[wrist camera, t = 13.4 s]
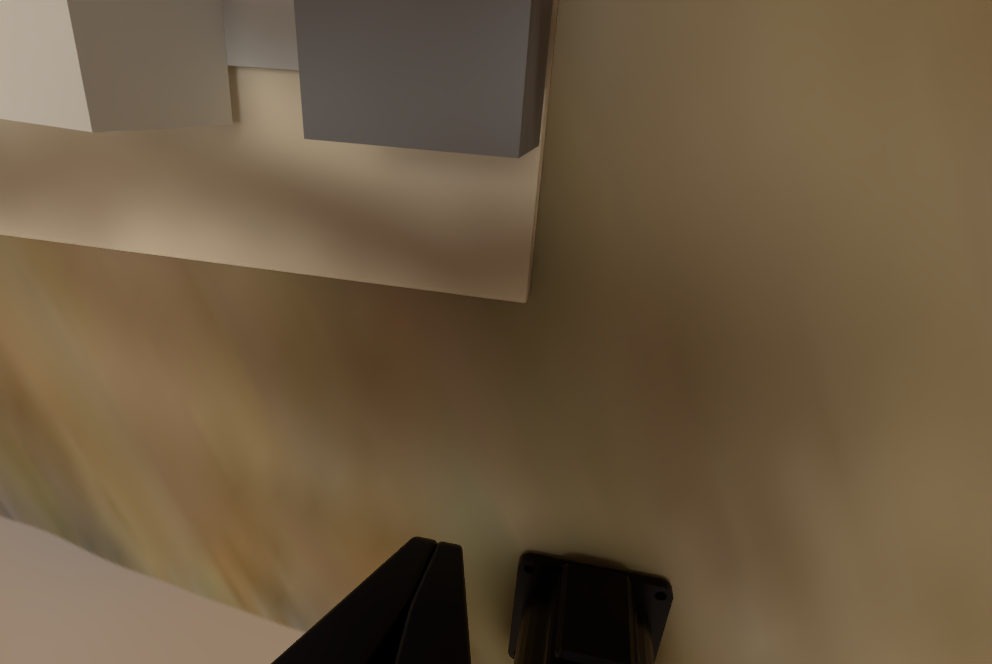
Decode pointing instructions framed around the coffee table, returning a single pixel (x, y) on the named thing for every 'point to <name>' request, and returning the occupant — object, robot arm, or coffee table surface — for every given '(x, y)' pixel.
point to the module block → (114, 64)
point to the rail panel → (325, 151)
